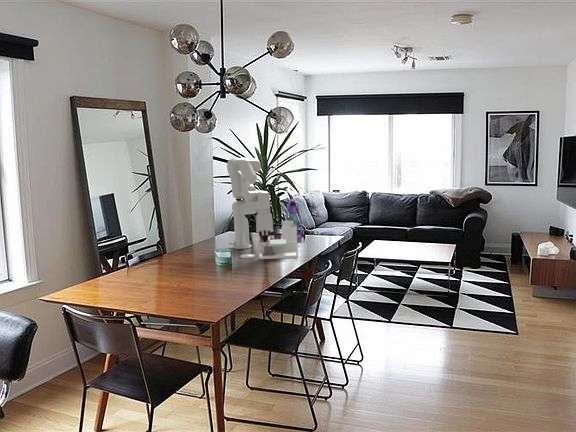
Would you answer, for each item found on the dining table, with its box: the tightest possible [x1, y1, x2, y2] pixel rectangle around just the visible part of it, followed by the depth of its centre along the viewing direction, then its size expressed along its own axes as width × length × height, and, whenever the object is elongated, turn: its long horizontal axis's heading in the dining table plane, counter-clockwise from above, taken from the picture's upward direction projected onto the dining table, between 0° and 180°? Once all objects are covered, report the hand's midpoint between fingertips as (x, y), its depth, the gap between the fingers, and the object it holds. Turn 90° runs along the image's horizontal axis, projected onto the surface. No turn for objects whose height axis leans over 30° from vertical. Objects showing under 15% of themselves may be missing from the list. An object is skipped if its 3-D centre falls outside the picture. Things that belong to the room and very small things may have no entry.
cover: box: [267, 236, 286, 246], centre depth 351 cm, size 11×15×3 cm
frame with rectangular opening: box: [257, 241, 299, 260], centre depth 351 cm, size 24×15×7 cm, turn 90°
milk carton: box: [280, 219, 298, 242], centre depth 370 cm, size 7×7×19 cm
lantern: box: [285, 198, 303, 243], centre depth 397 cm, size 13×12×30 cm
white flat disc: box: [240, 253, 256, 260], centre depth 352 cm, size 9×9×1 cm
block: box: [263, 245, 274, 256], centre depth 351 cm, size 5×5×7 cm
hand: (265, 241), depth 351 cm, fingers closed
